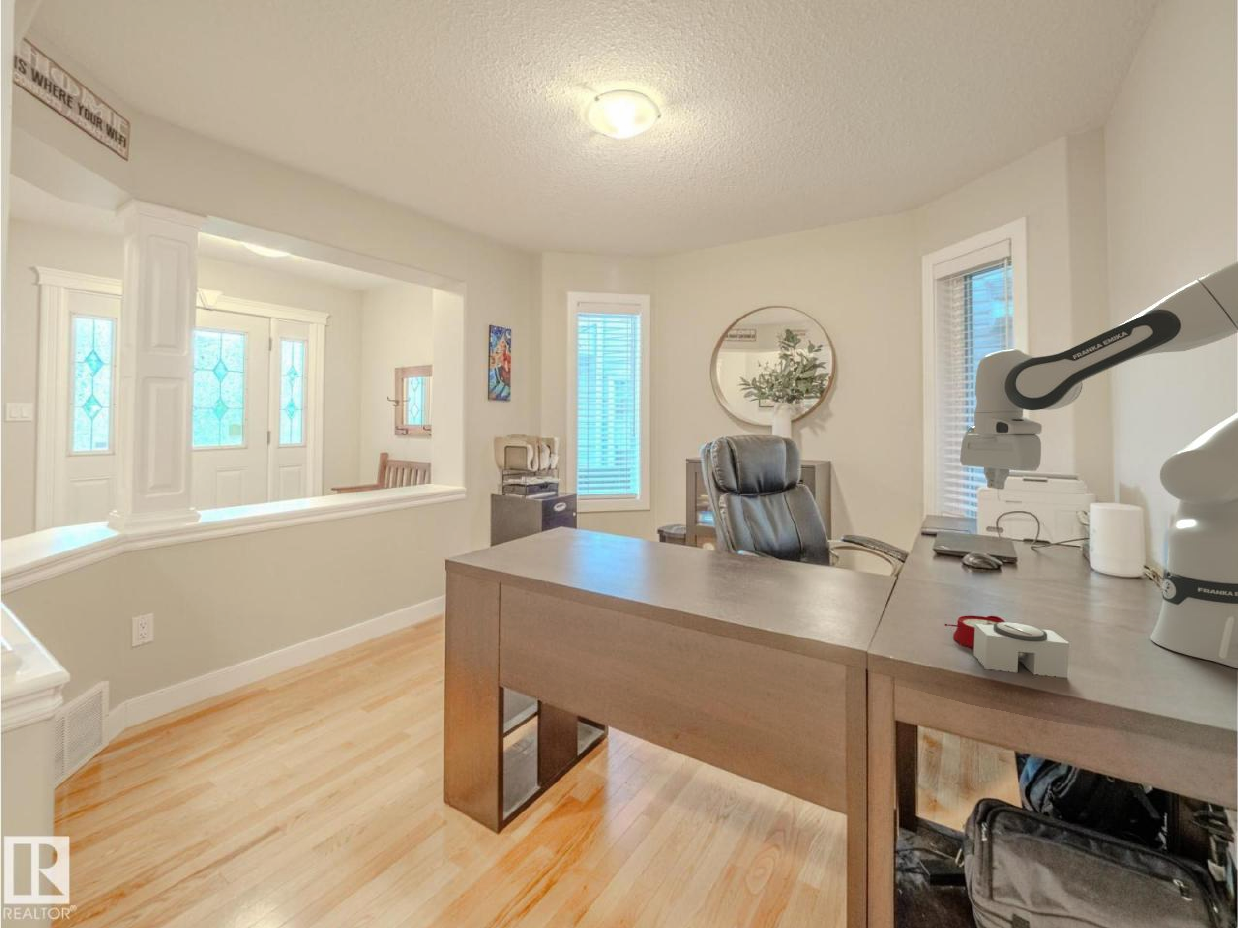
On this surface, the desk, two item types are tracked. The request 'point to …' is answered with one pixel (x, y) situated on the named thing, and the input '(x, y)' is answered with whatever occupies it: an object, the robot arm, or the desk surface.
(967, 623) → the alarm clock
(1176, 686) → the desk surface
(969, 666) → the desk surface
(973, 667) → the desk surface
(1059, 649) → the dial gauge
